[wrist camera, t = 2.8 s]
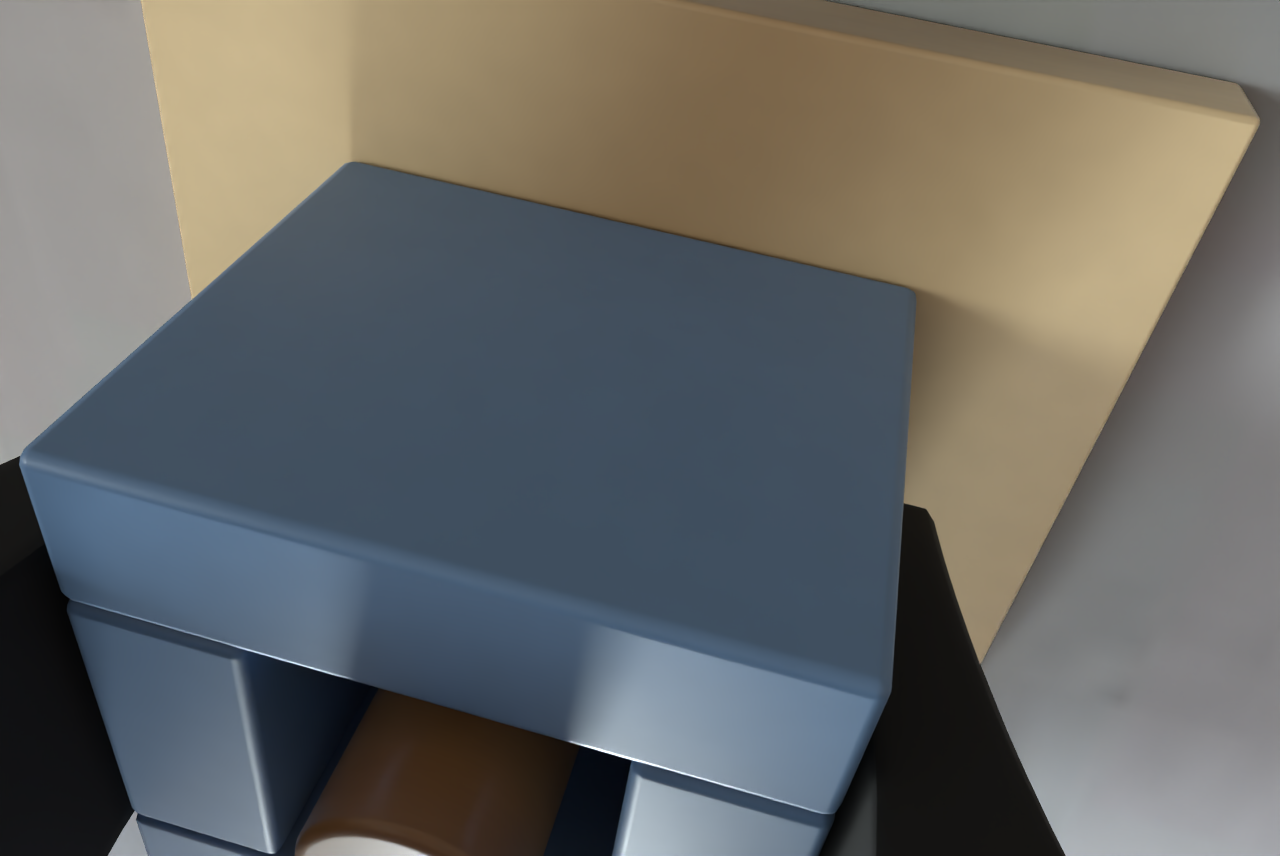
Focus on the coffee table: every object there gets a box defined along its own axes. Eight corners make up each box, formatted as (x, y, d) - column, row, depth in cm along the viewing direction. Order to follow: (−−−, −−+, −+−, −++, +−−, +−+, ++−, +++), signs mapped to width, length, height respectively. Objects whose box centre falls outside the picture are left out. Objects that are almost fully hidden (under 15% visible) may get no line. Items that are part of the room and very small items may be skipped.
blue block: (919, 286, 9) (896, 695, 6) (790, 668, 12) (726, 1073, 9) (347, 155, 10) (6, 453, 6) (369, 555, 13) (156, 894, 9)
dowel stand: (1242, 82, 8) (1581, 647, 4) (911, 752, 14) (888, 1294, 9) (174, -132, 9) (-580, 110, 5) (274, 575, 15) (-23, 991, 10)
